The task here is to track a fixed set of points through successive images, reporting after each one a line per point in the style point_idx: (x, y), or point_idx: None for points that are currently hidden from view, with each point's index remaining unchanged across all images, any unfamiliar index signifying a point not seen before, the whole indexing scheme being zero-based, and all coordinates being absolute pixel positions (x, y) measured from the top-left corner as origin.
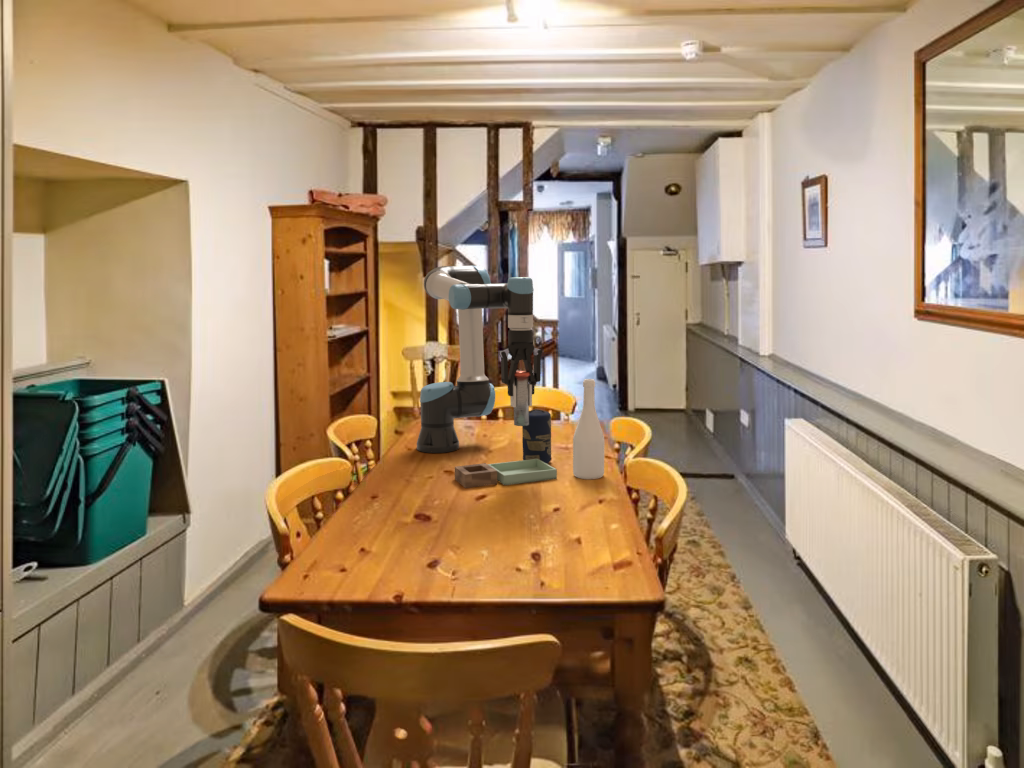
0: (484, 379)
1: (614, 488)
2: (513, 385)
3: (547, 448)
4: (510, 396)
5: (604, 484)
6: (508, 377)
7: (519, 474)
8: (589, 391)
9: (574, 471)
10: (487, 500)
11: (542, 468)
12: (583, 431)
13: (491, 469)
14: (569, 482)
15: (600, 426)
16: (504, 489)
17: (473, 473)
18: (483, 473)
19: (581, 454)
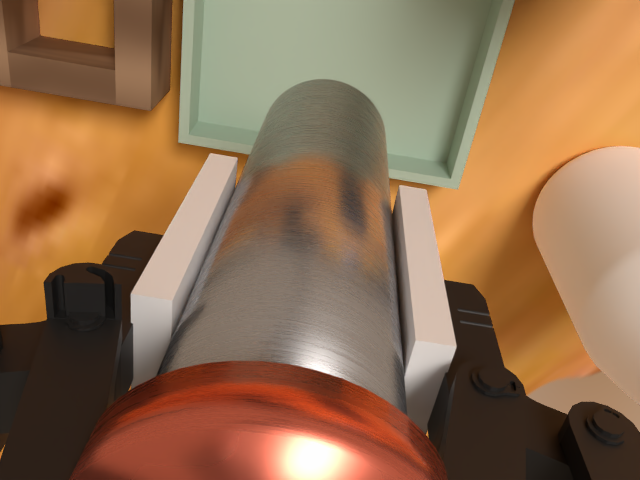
0: None
1: (535, 373)
2: (146, 370)
3: None
4: (181, 204)
5: (548, 325)
6: (26, 404)
7: None
8: None
9: (540, 206)
10: (54, 251)
11: (486, 28)
12: (622, 383)
13: (135, 67)
14: (459, 237)
15: None
16: (167, 173)
17: (22, 84)
18: (77, 96)
19: (562, 300)
